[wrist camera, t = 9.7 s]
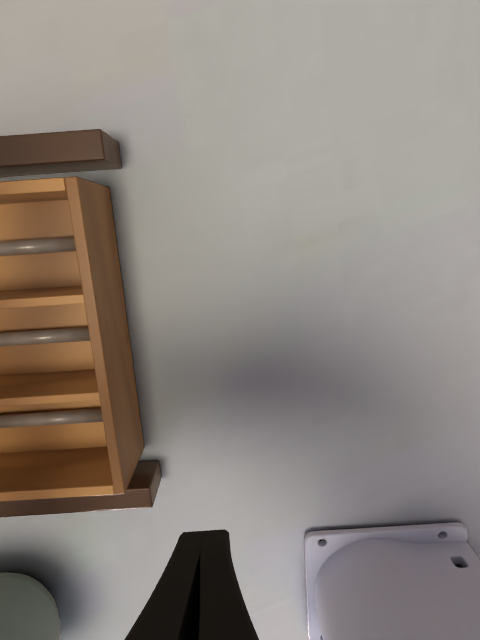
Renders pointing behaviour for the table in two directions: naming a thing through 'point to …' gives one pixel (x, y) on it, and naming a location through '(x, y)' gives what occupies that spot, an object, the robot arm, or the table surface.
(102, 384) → the cutlery tray
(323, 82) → the table surface
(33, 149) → the stand
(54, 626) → the cup
